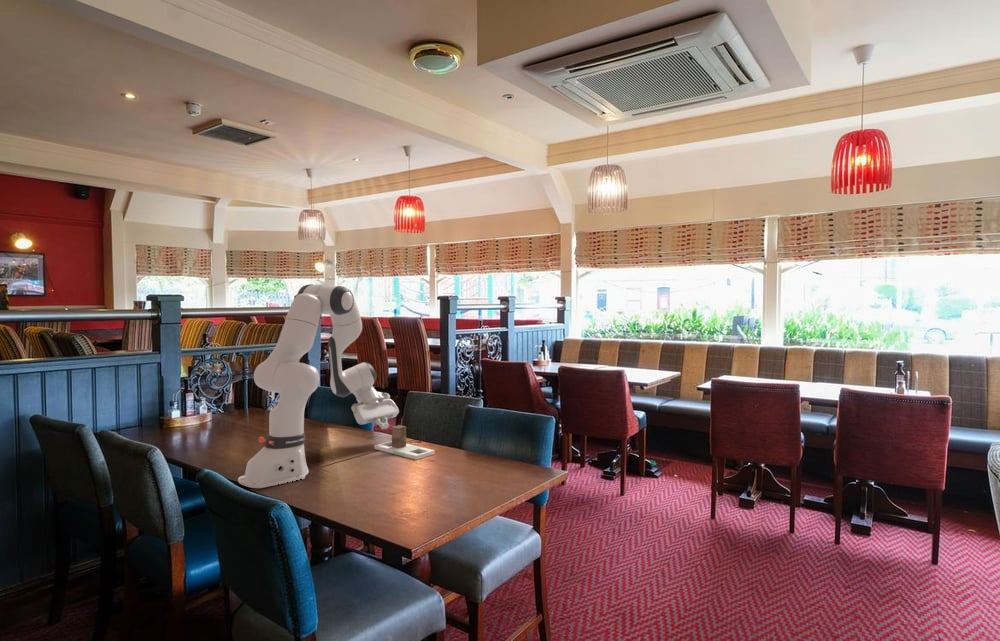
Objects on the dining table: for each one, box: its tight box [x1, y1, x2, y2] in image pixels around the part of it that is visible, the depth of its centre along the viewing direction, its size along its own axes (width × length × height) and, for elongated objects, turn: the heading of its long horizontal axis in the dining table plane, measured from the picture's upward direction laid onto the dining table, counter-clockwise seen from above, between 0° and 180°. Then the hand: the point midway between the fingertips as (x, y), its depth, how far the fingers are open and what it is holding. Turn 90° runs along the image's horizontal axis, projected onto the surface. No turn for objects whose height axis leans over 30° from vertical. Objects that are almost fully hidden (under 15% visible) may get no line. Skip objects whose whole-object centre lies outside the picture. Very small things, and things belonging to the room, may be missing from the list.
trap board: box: [373, 440, 436, 461], centre depth 222 cm, size 10×24×2 cm, turn 52°
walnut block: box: [391, 424, 407, 448], centre depth 224 cm, size 4×4×8 cm
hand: (385, 427), depth 229 cm, fingers closed
